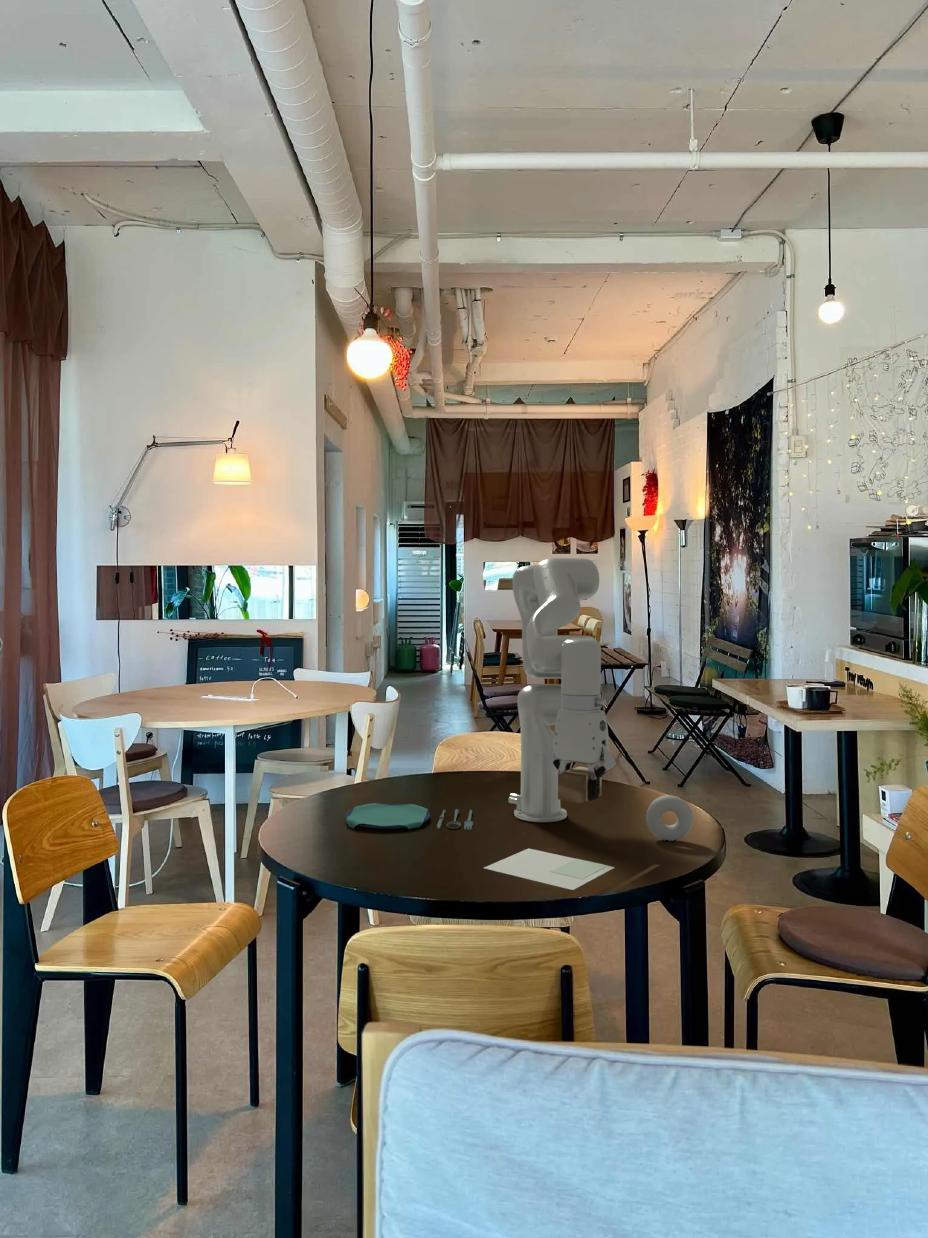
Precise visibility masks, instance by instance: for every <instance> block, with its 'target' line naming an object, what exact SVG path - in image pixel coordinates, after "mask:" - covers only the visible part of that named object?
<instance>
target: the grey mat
mask: <svg viewBox="0 0 928 1238" xmlns="http://www.w3.org/2000/svg"><path fill="white" fill-rule="evenodd" d="M483 869H485V870H488V871H493V872H497V873H501V874H506V875H510V876H514V877H517V878H521V879H526V880H530V881H534V882H539V883H541V884H542V883H543V884H546V885H550V886H554V887H558V888H563V889H565V890H571V891H574V890H576V889H578V888H579V887H581V886H583V885H585V884H587V883H589V882H590V881H593V880H595V879H597V878H598V877H600V876H602V875H604V874H606V873H608V872H609V871H611V870H613V869H615V867H614V866H611V865H606V864H603V863H599V862H594V861H589V860H585V859H584V860H583V859H582V858H581V859H580V858H574V857H569V856H564V855H561V854H560V855H559V854H555V853H551V852H546V851H542V850H538V849H534V848H533V849H532V848H530V847H529V848H527V849H523V850H522V851H519V852H517V853H515V854H512V855H510V856H508V857H506V858H503V859H500V860H498V861H496V862H494V863H492V864H490V865H487V866H484V867H483Z"/></svg>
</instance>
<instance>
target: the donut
mask: <svg viewBox="0 0 928 1238" xmlns="http://www.w3.org/2000/svg"><path fill="white" fill-rule="evenodd" d="M666 812H672V813H675V815H676V819H677V820H676V822H675V823H674V824H670V825H669V824H666V823H664V821H663V820H662V817H663V815H664V813H666ZM693 815H694V814H693V811H692V809H691V807H690V805H689V804H688V802H686V801H685V800H684V799H682V798H680V797H679V796H675V795H671V794H670V795H669V794H667V795H661V796H659V797H657V798H655V799H654V800H653V801H651V803H650V805H649V806H648V808H647V810H646V816H645V821H646V825H647V827H648V829H649V831H650V832H651V833H652V834H653V835H654V836H655V837H657V838H658V839H660V840H662V841H666V840H668V841H667V842H674V840H676V841H678V840H681V839H683V838H684V837H686V835H688V834H689V833H690V830H691V829H692V827H693V824H694V816H693Z"/></svg>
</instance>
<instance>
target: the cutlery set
mask: <svg viewBox="0 0 928 1238" xmlns="http://www.w3.org/2000/svg"><path fill="white" fill-rule="evenodd" d="M446 812H447V811H446V809H442V813H441V815H439V818H438V822H437V825H436V828H437V830H441V827H442V823H443V822H444V821H445V814H446ZM459 812H460V811H459V809H457V808H456V809H455V810H454V816H453V817H454V818H453V820H451V821H448V822H447V823H446V826H447V828H448V829H451V830H456V829H459V828H460V827H461V826H462V824H461V822H459V821H457V818H458V815H459ZM472 815H473V809H469V812H468V817H467V819H466V820H464V822H463V823H464V824H463V825H464V831H466V830H467V831H469V830H470V831H471V830H472V827H473V825H474V821H472ZM430 818H431V813H430V812H429V809H428V808H426V807H423V806H421V805H417V804H413V803H409V804H404V803H379V802H372V803H367V804H361V805H357V806H354V808H352V809H350V810H348V811H347V812H346V813H345V819H346V823H347V825H348V827H349V828H350V827H351V829H352V828H353V830H354V829H355V827H356V826H359V827H365V828H369V829H370V828H371V829H372V828H373V829H381V830H384V829H385V830H387V829H390V830H391V829H394V830H395V829H403V828H405V829H406V828H407V829H408V830H412V829H417V828H420V827H421V826H422V825H423V823H426V822H428V820H429V819H430ZM453 824H454V825H457V826H456V827H449V826H450V825H453Z"/></svg>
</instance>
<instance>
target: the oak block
mask: <svg viewBox="0 0 928 1238" xmlns="http://www.w3.org/2000/svg"><path fill="white" fill-rule="evenodd" d="M602 777H603V776H602ZM602 777H601V778H600V794H599V795H598V797H601V796H602V795H603V793H602V792H603V791H602V789H603V787H602V786H603V785H602V781H603V780H602ZM589 779H590V775H589V770H588V767H587V766H585V767H584V766H577V767H573V768H571V769H570V770H567V771H564V772H561V773H558V799H559V800H560V801H565V802H570V803H571V802H572V803H577V804H583V803H584V802H585V803H586V802H587V801H589V800H588V780H589Z"/></svg>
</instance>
